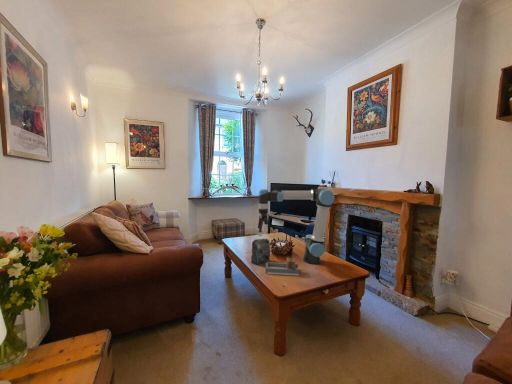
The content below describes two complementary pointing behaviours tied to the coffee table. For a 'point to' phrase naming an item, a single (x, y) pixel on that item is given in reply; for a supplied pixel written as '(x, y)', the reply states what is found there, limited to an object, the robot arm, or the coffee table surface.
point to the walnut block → (290, 263)
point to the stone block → (260, 251)
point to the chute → (280, 269)
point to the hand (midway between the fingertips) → (263, 234)
